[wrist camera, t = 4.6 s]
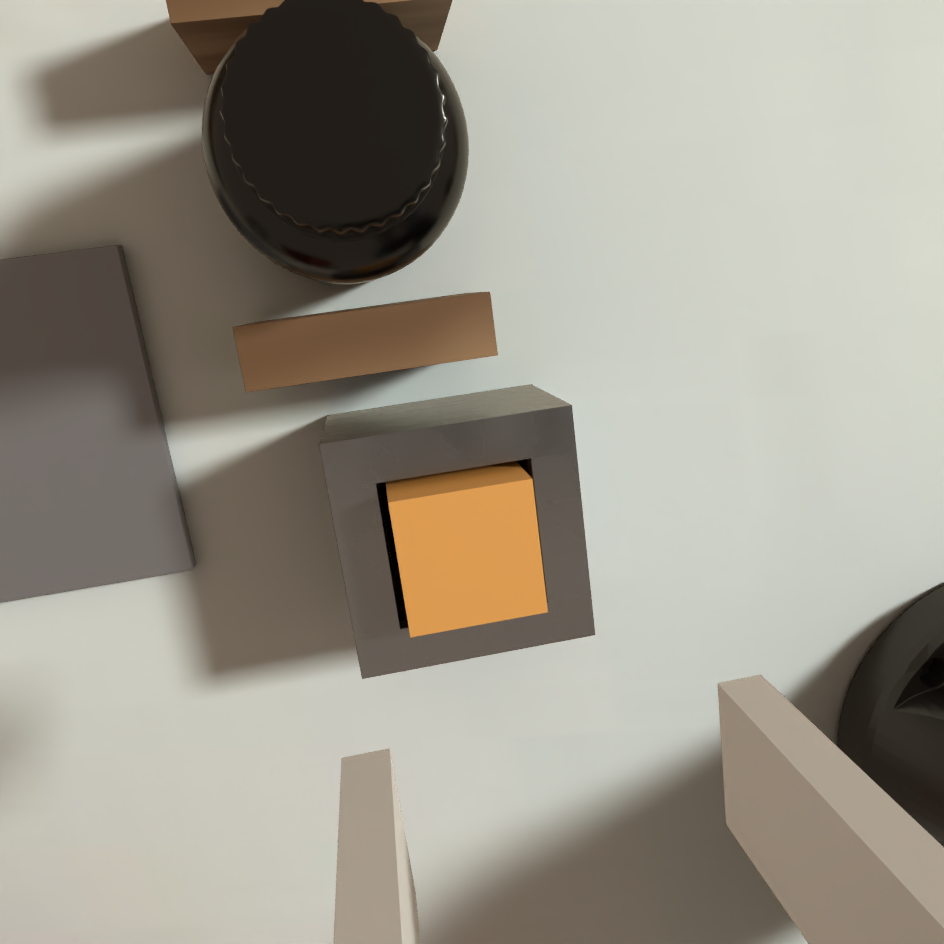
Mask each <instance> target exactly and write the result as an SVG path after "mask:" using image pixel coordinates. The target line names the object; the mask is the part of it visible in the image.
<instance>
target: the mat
mask: <svg viewBox="0 0 944 944" xmlns="http://www.w3.org/2000/svg"><path fill="white" fill-rule="evenodd" d="M195 565H196V563H195V559H194V555H193V550H192V546H191V542H190V538H189V533H188V529H187V525H186V520H185V516H184V512H183V507H182V503H181V499H180V494H179V490H178V486H177V482H176V477H175V473H174V469H173V464H172V460H171V456H170V451H169V447H168V443H167V439H166V434H165V430H164V426H163V421H162V417H161V413H160V408H159V404H158V400H157V395H156V391H155V387H154V383H153V378H152V374H151V370H150V365H149V361H148V357H147V352H146V348H145V344H144V339H143V335H142V331H141V327H140V322H139V318H138V314H137V309H136V305H135V301H134V296H133V292H132V288H131V284H130V279H129V275H128V271H127V266H126V262H125V258H124V253H123V249H122V246H118V245H114V246H106V247H98V248H90V249H82V250H74V251H66V252H58V253H50V254H42V255H34V256H26V257H18V258H10V259H2V260H0V602H6V601H12V600H18V599H23V598H29V597H35V596H41V595H47V594H53V593H59V592H65V591H71V590H76V589H82V588H88V587H94V586H100V585H106V584H112V583H118V582H124V581H130V580H135V579H141V578H147V577H153V576H159V575H165V574H171V573H177V572H183V571H188V570H193V568H194V567H195Z"/></svg>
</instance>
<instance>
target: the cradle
mask: <svg viewBox="0 0 944 944" xmlns="http://www.w3.org/2000/svg"><path fill="white" fill-rule="evenodd" d="M283 1H284V0H166V3H167V8H168V13H169V17H170V22H171V25H172V26H173V27H174V29H175V30H176V32H177V33H178V35H179V36H180V37H181V39H182V40H183V42H184V43H185V45H186V46H187V47H188V49H189V50H190V52H191V53H192V55H193V56H194V58H195V59H196V60H197V62H198V63H199V65H200V66H201V68H202V69H203V70H204V72H205V73H206V74H211V73H215V71H216V69H217V67H218V65H219V63H220V61H221V59H222V58H223V56H224V55H225V53H226V52H227V50H228V49H229V48H230V46H231V45H232V44H233V43H234V41H235V40H236V39H237V38H238V37H239V36H240V35H241V34H242V33H243V32H244V31H245V30H246V29H247V28H248V27H249V24H250V23H252V22H254V21H258V20H259V19H261V17H262V16H263V14H264V12H265V11H266V9H268V8H272V7H279V6H280V4H281V3H282V2H283ZM363 1H365V2H375V3H378V4H379V5H380V6H381V7H382V9H383V10H384V11H385V12H386V13H390V14H393V15H396V16H397V17H398V18H399V20H400V21H401V23H402V24H403V25H405V26H406V27H407V28H409V29H410V30H411V31H413V32H414V33H415V34H416V35H417V36H418V37H419V38H421V39H422V40H423V42H424V43H425V44H426V45H427V46H428V47H429V48H430V49H431V50H432V51H434V50H437V49H438V46H439V42H440V39H441V36H442V32H443V29H444V26H445V23H446V19H447V16H448V13H449V9H450V6H451V3H452V0H363ZM233 331H234V336H235V341H236V346H237V351H238V356H239V361H240V366H241V371H242V376H243V380H244V385H245V390H246V392H251V391H257V390H264V389H271V388H278V387H285V386H292V385H298V384H305V383H312V382H319V381H326V380H332V379H339V378H346V377H353V376H360V375H366V374H373V373H380V372H387V371H394V370H401V369H407V368H414V367H421V366H428V365H435V364H441V363H448V362H455V361H462V360H469V359H475V358H482V357H489V356H496V355H498V353H497V345H496V337H495V329H494V321H493V313H492V305H491V296H490V292H476V293H464V294H457V295H449V296H442V297H435V298H427V299H420V300H413V301H406V302H398V303H391V304H384V305H377V306H369V307H362V308H355V309H347V310H340V311H333V312H326V313H318V314H311V315H304V316H297V317H289V318H282V319H275V320H267V321H260V322H254V323H249V324H245V325H241V326H236V327H233Z"/></svg>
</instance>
